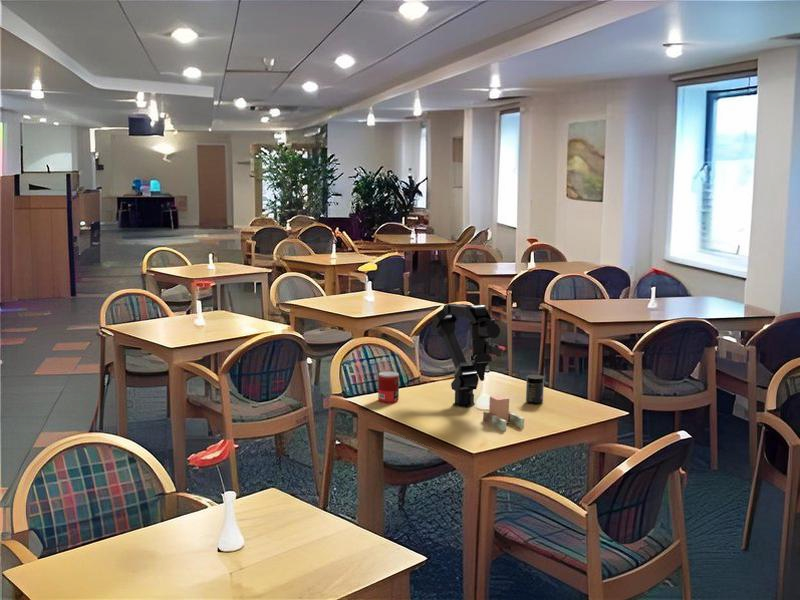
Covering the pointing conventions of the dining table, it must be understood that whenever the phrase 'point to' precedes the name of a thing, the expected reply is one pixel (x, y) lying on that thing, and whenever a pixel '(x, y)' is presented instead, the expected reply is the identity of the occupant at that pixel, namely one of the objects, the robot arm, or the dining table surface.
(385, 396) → the canned food
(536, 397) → the supplement container
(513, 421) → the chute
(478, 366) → the robot arm
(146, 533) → the dining table surface
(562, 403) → the dining table surface
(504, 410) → the block
